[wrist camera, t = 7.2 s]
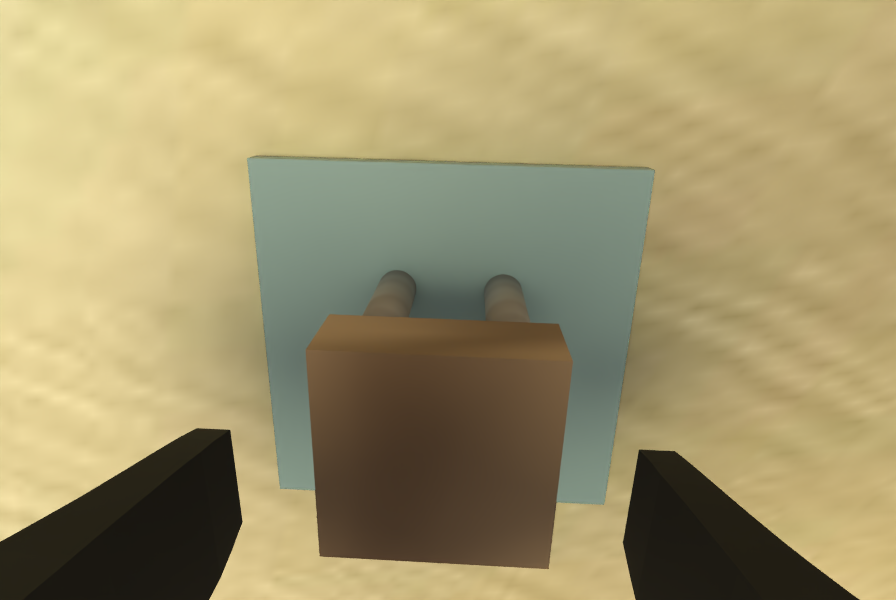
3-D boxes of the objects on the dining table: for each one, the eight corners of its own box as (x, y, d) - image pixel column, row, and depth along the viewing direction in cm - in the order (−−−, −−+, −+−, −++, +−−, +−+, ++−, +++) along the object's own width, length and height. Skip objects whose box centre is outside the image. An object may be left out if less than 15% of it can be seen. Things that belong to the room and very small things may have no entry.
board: (647, 167, 14) (655, 170, 13) (599, 491, 17) (604, 504, 17) (255, 155, 14) (247, 157, 14) (286, 476, 18) (280, 488, 17)
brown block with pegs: (535, 264, 14) (573, 361, 9) (523, 411, 16) (548, 569, 10) (366, 257, 14) (305, 350, 9) (370, 404, 16) (319, 556, 11)
